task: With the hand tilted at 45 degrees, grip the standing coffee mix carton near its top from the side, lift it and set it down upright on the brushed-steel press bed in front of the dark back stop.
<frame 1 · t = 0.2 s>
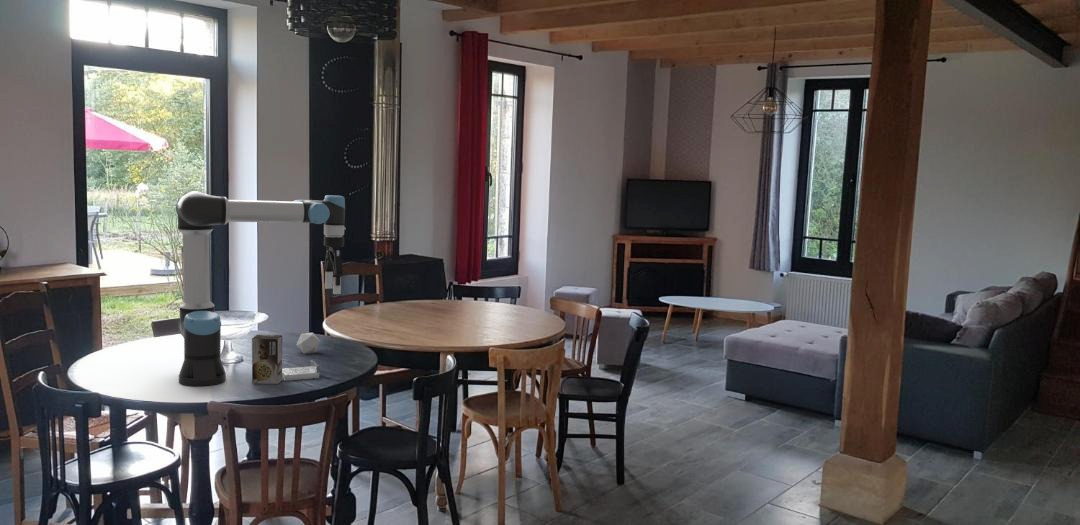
hand: (332, 291, 323), 28 cm above the table, fingers open, 13 cm apart
die: (308, 352, 340), on the table
press bed: (298, 376, 303), on the table
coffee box: (267, 382, 294), on the table
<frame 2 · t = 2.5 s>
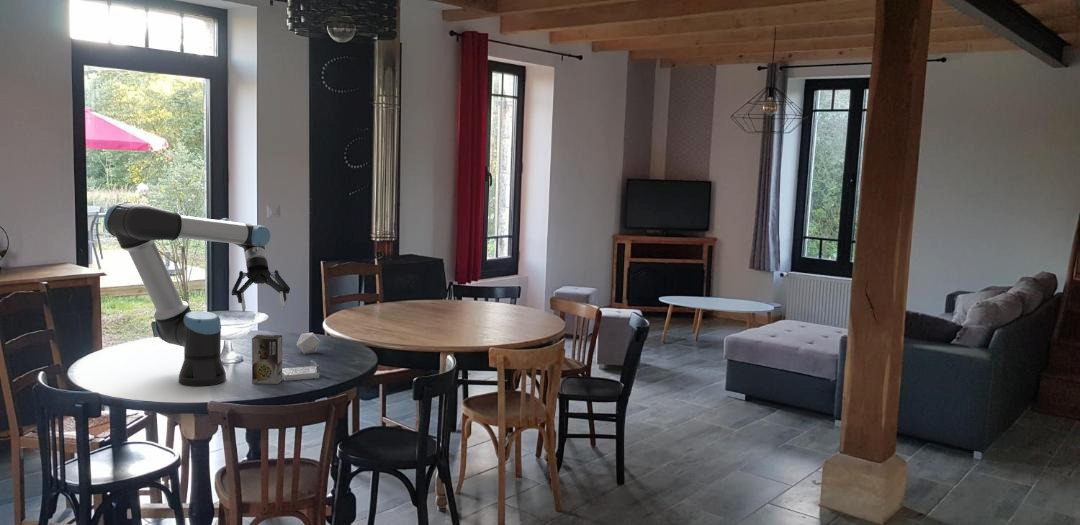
hand: (264, 309, 302), 24 cm above the table, fingers open, 13 cm apart
nothing on the table moved.
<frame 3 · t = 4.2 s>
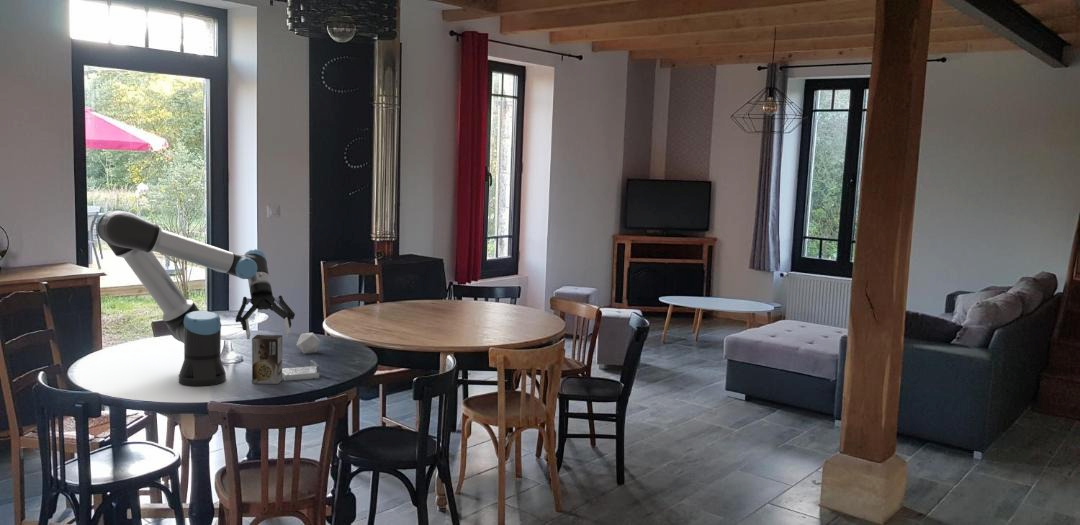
hand: (268, 335, 296), 15 cm above the table, fingers open, 13 cm apart
nothing on the table moved.
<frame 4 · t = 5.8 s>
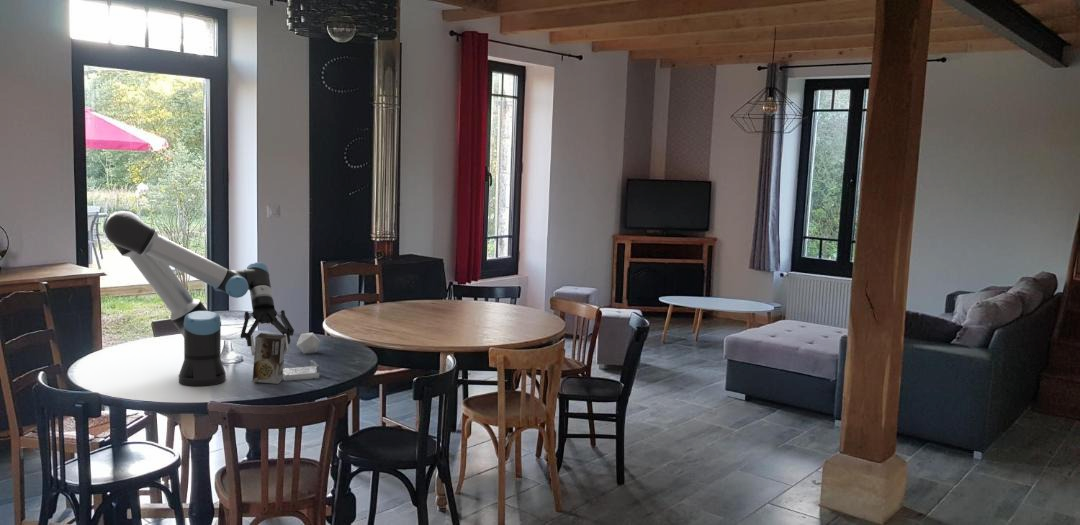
hand: (270, 352, 292), 11 cm above the table, fingers closed on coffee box, 11 cm apart
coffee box: (267, 381, 294), on the table, touching gripper
everything else where it was.
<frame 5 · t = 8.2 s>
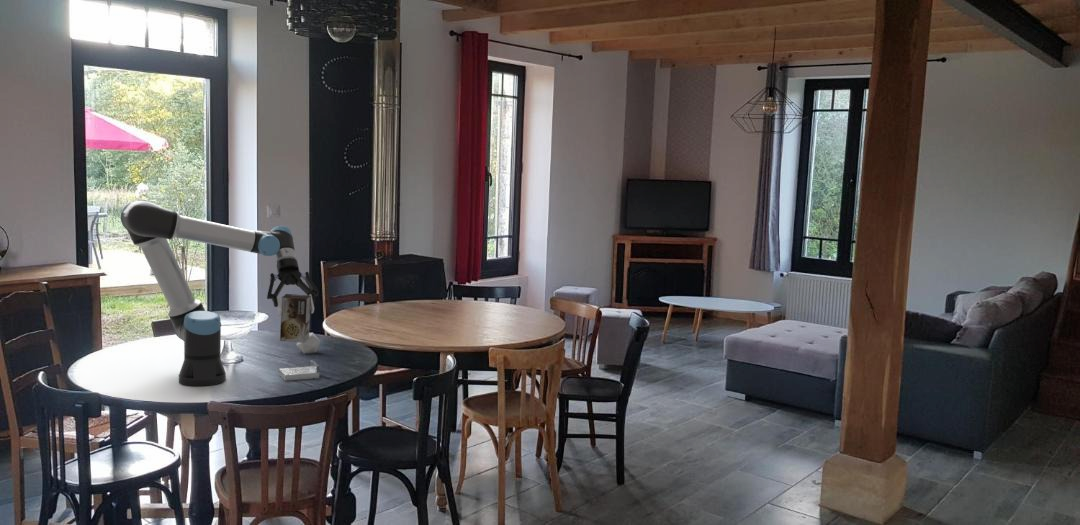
hand: (296, 312, 298), 24 cm above the table, fingers closed on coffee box, 11 cm apart
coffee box: (294, 340, 300), point 13 cm above the table, touching gripper
everything else where it was.
when the fingers open (14 cm above the table, at t = 10.7 s): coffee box drops 1 cm, resting on press bed.
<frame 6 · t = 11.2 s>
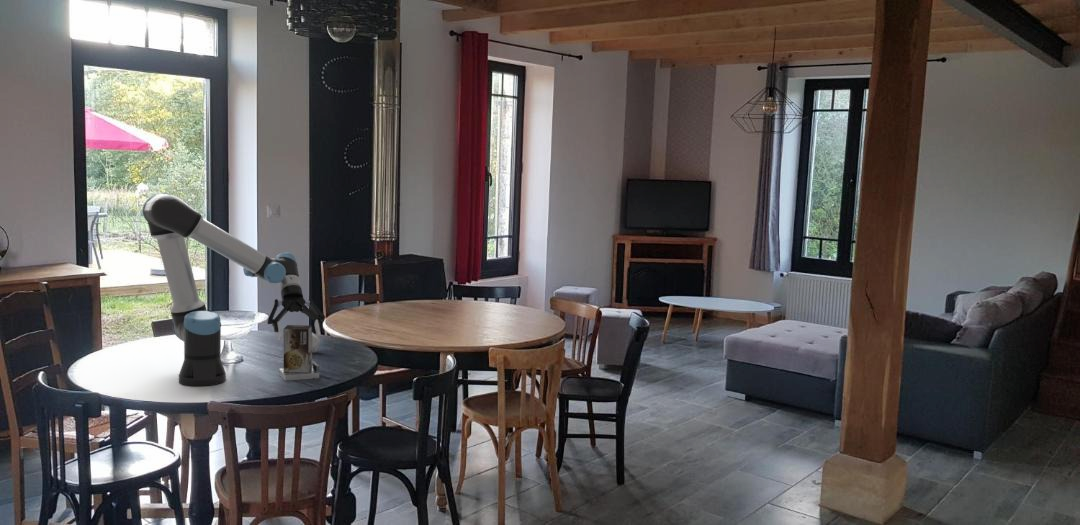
hand: (300, 337, 301), 14 cm above the table, fingers open, 13 cm apart
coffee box: (297, 371, 303), point 2 cm above the table, touching press bed
everything else where it was.
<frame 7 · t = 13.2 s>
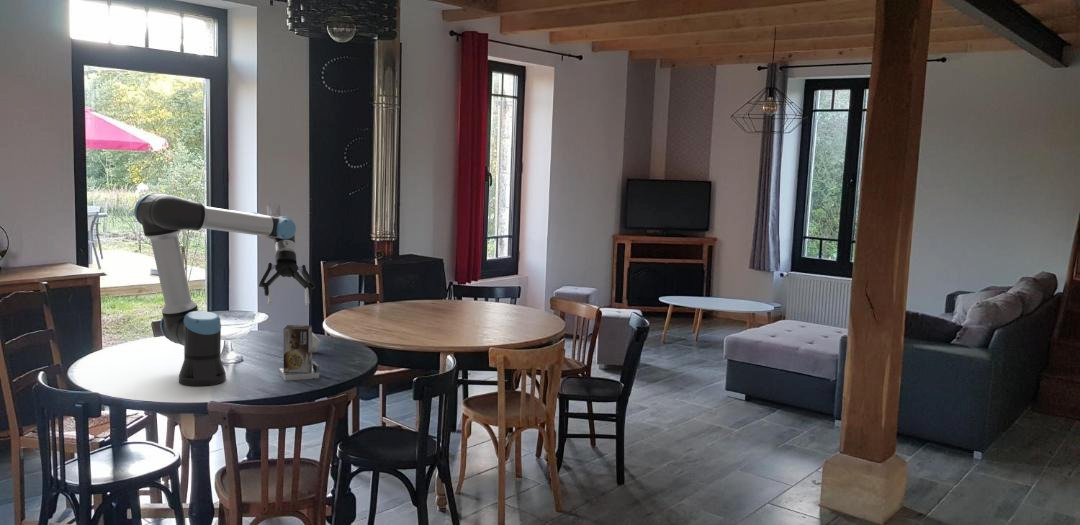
hand: (288, 304, 309), 25 cm above the table, fingers open, 13 cm apart
nothing on the table moved.
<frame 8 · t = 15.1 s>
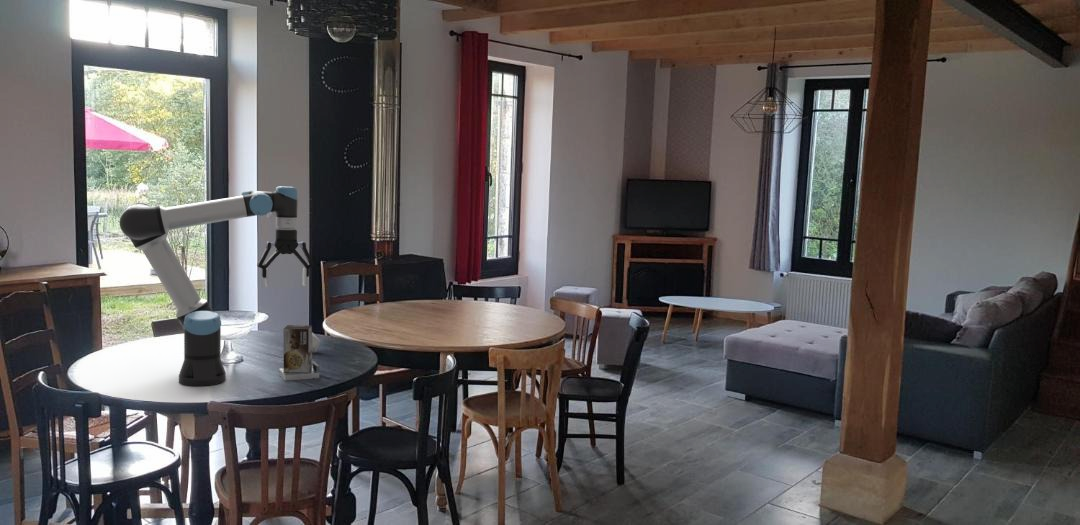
hand: (285, 286, 311), 31 cm above the table, fingers open, 13 cm apart
nothing on the table moved.
at the end: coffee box inside the target area on the press bed (0.5 cm from its centre), point 1.8 cm above the press bed's base; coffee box tilted 0°; the gripper is holding nothing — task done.
